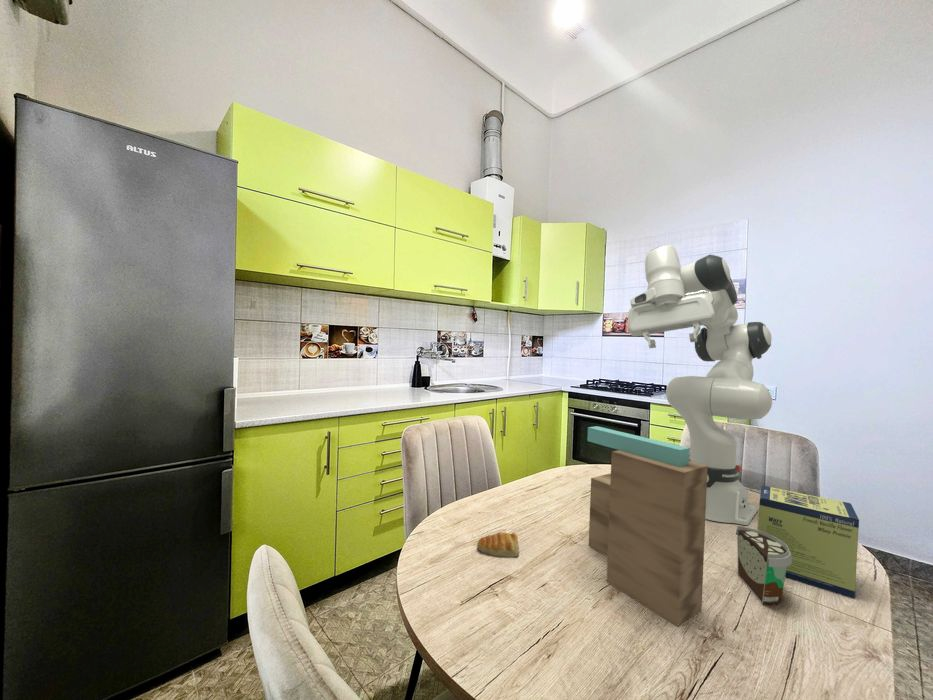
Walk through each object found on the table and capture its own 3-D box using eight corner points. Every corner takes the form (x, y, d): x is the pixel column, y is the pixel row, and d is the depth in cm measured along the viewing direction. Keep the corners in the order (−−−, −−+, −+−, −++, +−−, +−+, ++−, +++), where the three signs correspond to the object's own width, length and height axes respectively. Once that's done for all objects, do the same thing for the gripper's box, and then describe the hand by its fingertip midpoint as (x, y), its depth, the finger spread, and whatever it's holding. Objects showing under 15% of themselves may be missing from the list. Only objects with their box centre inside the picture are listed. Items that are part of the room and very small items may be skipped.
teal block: (596, 439, 86) (596, 426, 86) (688, 464, 69) (689, 448, 69) (587, 441, 84) (587, 427, 84) (679, 467, 67) (680, 450, 67)
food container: (806, 616, 68) (809, 560, 68) (767, 610, 69) (769, 555, 69) (767, 575, 80) (769, 528, 80) (734, 571, 81) (736, 524, 81)
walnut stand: (615, 535, 95) (619, 431, 95) (727, 591, 74) (733, 458, 74) (564, 555, 85) (568, 439, 85) (677, 626, 64) (683, 472, 64)
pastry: (478, 558, 83) (478, 541, 83) (476, 542, 90) (476, 526, 90) (521, 559, 84) (521, 541, 84) (515, 543, 91) (516, 527, 91)
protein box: (857, 600, 73) (861, 519, 73) (755, 568, 83) (758, 496, 83) (848, 575, 81) (852, 502, 81) (756, 549, 91) (759, 484, 91)
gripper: (712, 294, 100) (721, 342, 94) (629, 311, 111) (633, 354, 105) (710, 282, 95) (719, 331, 90) (624, 300, 106) (627, 345, 101)
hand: (672, 344), depth 98 cm, fingers open, 8 cm apart
